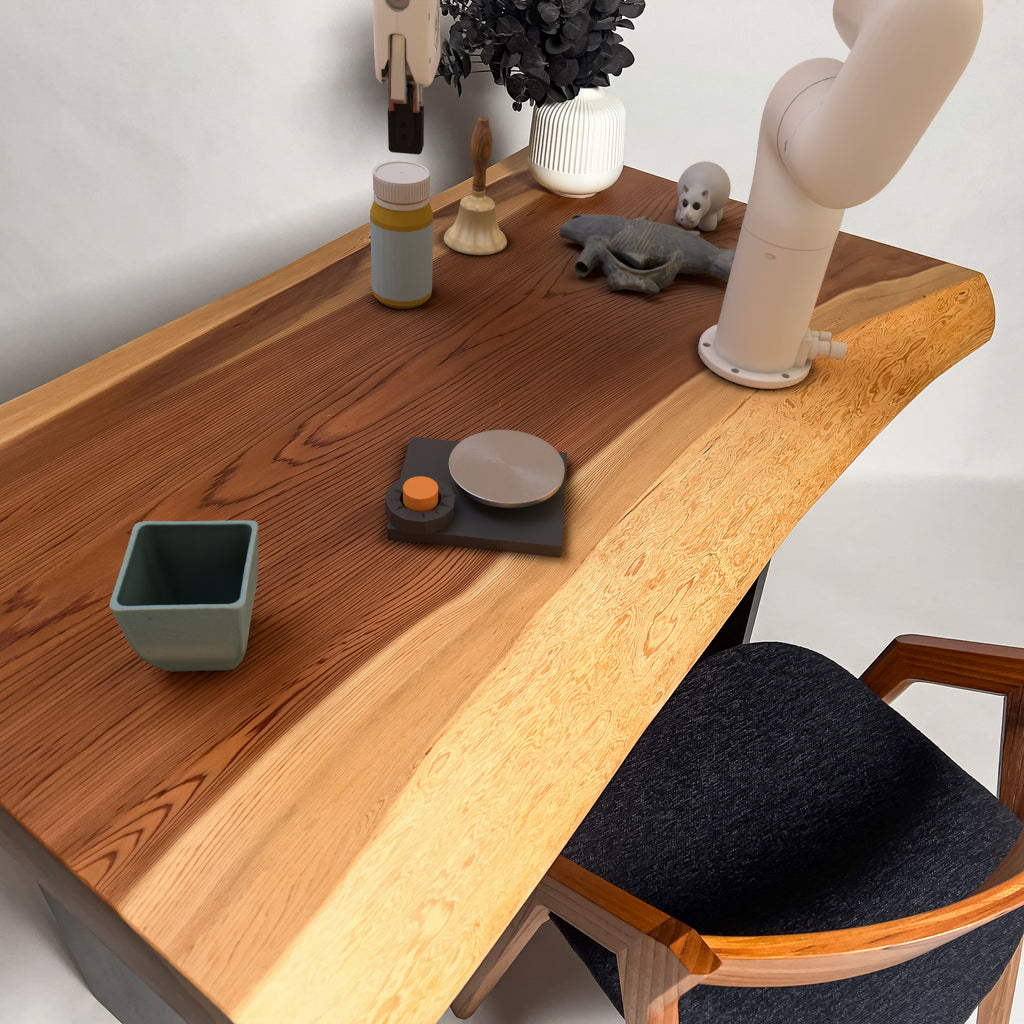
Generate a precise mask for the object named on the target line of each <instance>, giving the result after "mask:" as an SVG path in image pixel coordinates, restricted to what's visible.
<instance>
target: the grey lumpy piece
mask: <svg viewBox="0 0 1024 1024" xmlns="http://www.w3.org/2000/svg"><path fill="white" fill-rule="evenodd" d="M648 219H649V217H648V216H647V215H641V216H639V217H635V218H626V217H624V216H622V215H614V214H593V213H591V214H590V213H576V214H574V215H572V216H571V219H569V220H567V221H565V222H564V223H563V224H562V225H561V226H560V227H559V232H558V236H559V237H560V238H562V239H566V240H570V241H572V242H574V243H576V244H578V245H580V246H581V247H582V248H584V249H582V251H581V253H580V255H579V256H578V258H577V259H576V261H575V262H574V264H573V270H574V272H575V274H576V275H577V276H580V277H584V278H585V277H587V276H588V275H589V274H590V273H591V272H592V271H593V270H595V269H596V268H597V267H598V268H600V270H601V272H603V274H604V275H605V276H606V277H607V278H606V286H607V288H608V290H609V291H612V292H617V291H622V290H627V291H633V292H639V293H641V292H643V293H645V294H648V295H650V296H653V295H657V294H660V291H662V290H664V289H666V288H668V286H670V285H671V284H672V282H673V281H674V279H675V278H676V276H677V274H688V275H700V274H701V275H702V274H707V275H710V276H712V277H713V278H715V279H718V280H720V281H721V282H724V283H726V284H728V280H729V276H730V272H731V268H732V264H733V260H734V256H735V252H736V249H728V248H719V247H717V246H715V245H713V244H712V243H710V242H709V241H707V240H706V239H704V238H702V237H701V232H700V231H699V230H686V229H683V228H680V227H677V226H674V225H671V224H666V223H660V222H657V221H652V220H648ZM623 262H624V263H628V264H630V265H631V266H633V267H634V268H632V267H630V266H628V265H626V264H624V263H623ZM644 268H646V269H644ZM643 269H644V270H643Z"/></svg>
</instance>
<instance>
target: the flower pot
mask: <svg viewBox="0 0 1024 1024" xmlns="http://www.w3.org/2000/svg"><path fill="white" fill-rule="evenodd" d="M258 579H259V524H258V522H257V521H255V520H243V519H242V520H241V519H239V520H184V521H181V520H179V521H176V520H169V521H168V520H164V521H163V520H145V521H139V522H137V523H134V525H133V528H132V530H131V535H130V537H129V541H128V543H127V548H126V551H125V554H124V557H123V560H122V564H121V567H120V570H119V573H118V576H117V579H116V582H115V585H114V589H113V591H112V595H111V598H110V600H109V609H110V610H111V612H112V614H113V615H112V616H114V618H115V621H116V623H117V625H118V626H119V628H120V630H121V633H122V634H123V635H124V637H125V639H126V641H127V643H128V644H129V646H130V648H131V650H132V651H133V652H134V653H135V654H136V656H138V657H139V658H140V659H141V660H143V661H144V662H145V663H147V664H149V665H151V666H153V667H155V668H158V669H161V670H163V671H166V672H172V673H173V672H174V673H175V672H200V671H201V672H202V671H203V672H204V671H207V672H208V671H210V672H211V671H232V670H234V669H236V668H237V667H238V666H239V665H240V663H241V662H242V661H243V659H244V658H245V655H246V651H247V647H248V640H249V634H250V626H251V620H252V613H253V608H254V602H255V596H256V592H257V586H258Z"/></svg>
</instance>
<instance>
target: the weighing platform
mask: <svg viewBox="0 0 1024 1024" xmlns="http://www.w3.org/2000/svg"><path fill="white" fill-rule="evenodd" d="M558 452H559V451H558V450H557V449H556V448H555V447H553V445H551V444H550V443H549V442H547V441H545V440H544V439H542V438H540V437H538V436H536V435H534V434H530V433H527V432H525V431H520V430H514V429H513V430H512V429H490V430H485V431H480V432H477V433H474V434H472V435H469V436H468V437H466V438H464V439H463V440H461V441H460V443H459V444H458V445H456V447H455V448H454V449H453V451H452V452H451V454H450V457H449V463H448V470H449V475H450V478H451V480H452V482H453V483H454V485H455V486H456V487H457V488H458V489H459V490H460V491H461V492H462V493H464V494H465V495H466V496H468V497H470V498H471V499H473V500H475V501H478V502H480V503H483V504H486V505H490V506H495V507H502V508H519V507H526V506H531V505H534V504H538V503H540V502H542V501H545V500H546V499H548V498H550V497H551V496H552V495H553V494H555V493H556V491H557V490H558V489H559V488H560V486H561V485H562V482H563V478H564V472H565V469H564V463H563V460H562V458H561V456H560V455H559V453H558Z"/></svg>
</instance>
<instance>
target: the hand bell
mask: <svg viewBox="0 0 1024 1024" xmlns="http://www.w3.org/2000/svg"><path fill="white" fill-rule="evenodd" d="M475 123H476V124H475V126H474V128H473V132H472V135H471V139H470V154H471V160H472V164H473V174H472V175H473V176H472V185H471V194H468V195H466V196H463V197H462V198H461V199H460V203H459V209H458V213H457V216H456V219H455V221H454V223H453V224H452V226H450V227H449V228H448V229H447V230H446V231H445V233H444V235H443V242H444V243H445V245H446V246H447V247H448V248H450V249H451V250H453V251H455V252H458V253H459V254H460V253H461V254H464V255H470V256H489V255H490V256H491V255H494V254H497V253H500V252H502V251H503V250H504V249H506V247H507V244H508V240H507V237H506V235H505V233H504V232H503V231H502V230H501V229H500V227H499V225H498V224H499V223H498V222H497V221H498V220H497V215H496V214H497V213H496V202H495V201H494V199H492V198H491V197H489V196H487V195H486V188H487V185H486V183H487V169H488V165H489V163H490V159H491V156H492V151H493V150H492V149H493V134H492V130H491V126H490V120H489V117H488V116H485V115H481V116H480V115H479V116H478V117H477V119H476V122H475Z"/></svg>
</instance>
